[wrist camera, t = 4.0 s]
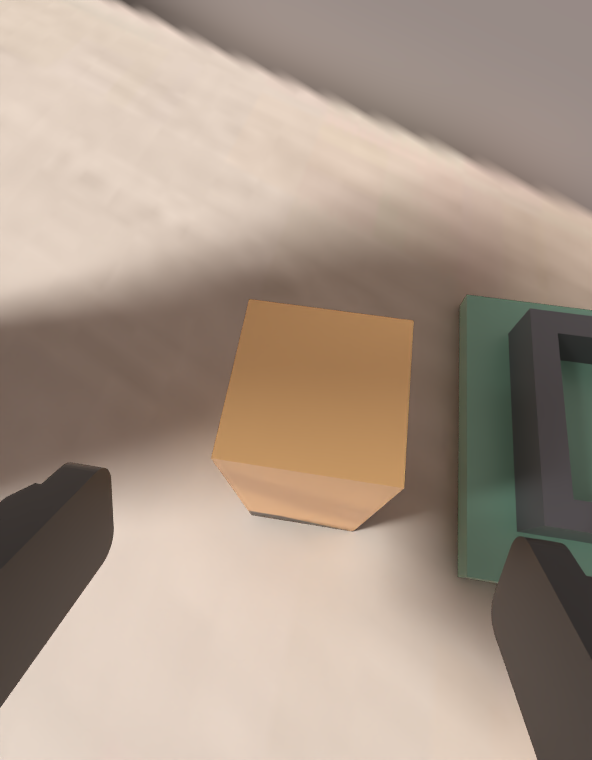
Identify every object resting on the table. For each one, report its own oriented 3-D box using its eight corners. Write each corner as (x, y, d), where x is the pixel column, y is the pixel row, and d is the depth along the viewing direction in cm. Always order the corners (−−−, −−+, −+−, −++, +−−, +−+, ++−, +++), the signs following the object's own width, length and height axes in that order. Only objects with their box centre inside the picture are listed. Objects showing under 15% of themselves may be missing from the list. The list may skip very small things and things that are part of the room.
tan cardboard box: (251, 514, 17) (211, 458, 9) (269, 419, 19) (248, 298, 11) (353, 531, 17) (404, 488, 9) (362, 433, 19) (413, 320, 11)
